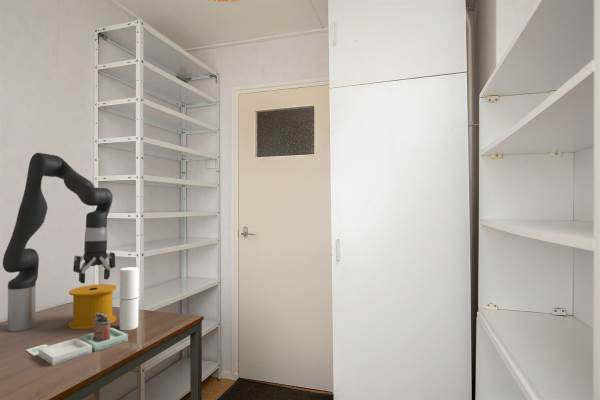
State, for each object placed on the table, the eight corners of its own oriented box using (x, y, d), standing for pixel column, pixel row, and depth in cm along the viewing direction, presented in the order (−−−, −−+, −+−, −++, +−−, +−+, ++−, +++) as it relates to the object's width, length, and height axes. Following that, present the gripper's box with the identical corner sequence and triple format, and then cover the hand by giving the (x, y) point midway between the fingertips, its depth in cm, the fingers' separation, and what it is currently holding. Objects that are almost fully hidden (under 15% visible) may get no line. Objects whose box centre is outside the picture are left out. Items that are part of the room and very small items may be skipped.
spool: (90, 314, 165) (90, 283, 165) (124, 316, 162) (125, 284, 162) (58, 328, 147) (58, 292, 147) (96, 330, 144) (96, 294, 144)
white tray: (38, 355, 120) (38, 348, 120) (76, 344, 130) (76, 337, 130) (52, 365, 113) (52, 357, 113) (91, 352, 123) (91, 345, 123)
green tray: (79, 343, 131) (79, 337, 131) (112, 333, 141) (112, 327, 141) (94, 351, 124) (94, 344, 124) (127, 340, 134) (127, 334, 134)
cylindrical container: (130, 330, 144) (131, 270, 144) (115, 329, 145) (116, 269, 146) (141, 324, 151) (142, 267, 151) (127, 323, 152) (127, 266, 153)
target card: (25, 350, 125) (25, 349, 125) (45, 344, 129) (45, 343, 129) (34, 356, 120) (34, 355, 120) (54, 350, 125) (54, 349, 125)
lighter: (112, 340, 131) (113, 314, 132) (104, 343, 128) (104, 316, 128) (99, 336, 135) (99, 310, 135) (90, 339, 132) (90, 313, 132)
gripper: (110, 237, 142) (108, 276, 142) (71, 239, 131) (69, 282, 131) (119, 238, 138) (118, 279, 138) (80, 241, 126) (78, 286, 126)
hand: (94, 281), depth 134 cm, fingers open, 8 cm apart
